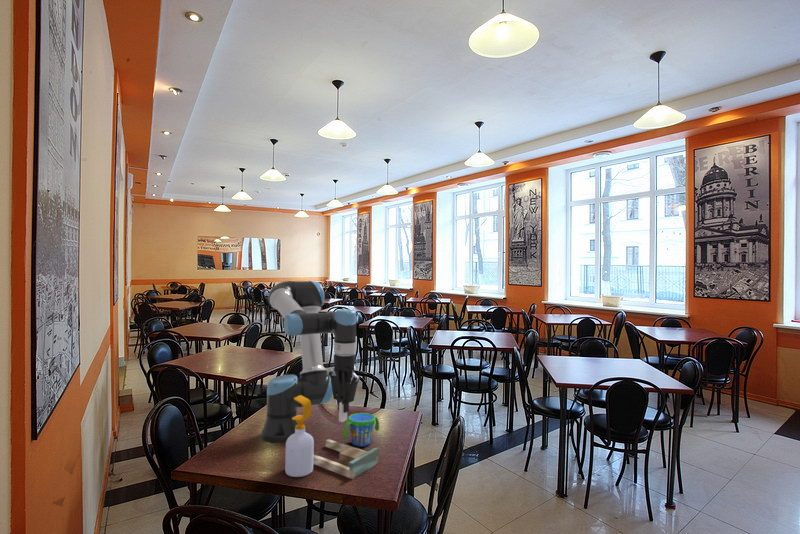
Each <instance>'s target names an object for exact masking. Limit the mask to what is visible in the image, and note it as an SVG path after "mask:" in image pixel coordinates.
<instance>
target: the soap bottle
mask: <svg viewBox="0 0 800 534" xmlns="http://www.w3.org/2000/svg"><path fill="white" fill-rule="evenodd" d="M294 400H295V401H297V402H299V403H300V404H302V406H303V407H302V414H297V416H295V417H293V418H292V420H296V422H297V423H298V425H296V426H295V433H294V434H292V435H291V436H290V437H289V438H288V439H287V441H286V442H285V459H284V461H285V463H284V465H285V466H284V467H285V468H284V470H285V474H286V475H287V476H288V477H292V478H300V477H305V476H308V475H310V474H312V472H313V471H314V464H313V455H314V452H315V451H314V449H315V443H314V442H315V440H314V437H313V436H312V435H311V434H310V433H308V432H306V424H304V423H305V421H306V420H308V419H309V418H311V416H312V405H311V401H310V400H309V399H307V398H306V397H304V396H302V395H299V396H297V397H295V398H294Z"/></svg>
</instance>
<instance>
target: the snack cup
mask: <svg viewBox="0 0 800 534" xmlns="http://www.w3.org/2000/svg"><path fill="white" fill-rule="evenodd" d="M346 421H347V422H346V423H345V424H344V427H343V432H342V436H343V438H344V440H348V428H349V432H350V439H351V443H352V445H353V446H356V447H366V446H368V445H371V443H372V439H373V433H374V430H375V431H377V432H378V431H379V430H380V423H379V419H378V417H377V416H375V415H374V414H372V413H367V412H358V413H357V412H356V413H352V414H350V415H349V416H347V420H346Z"/></svg>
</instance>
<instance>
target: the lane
mask: <svg viewBox="0 0 800 534" xmlns="http://www.w3.org/2000/svg"><path fill="white" fill-rule="evenodd" d="M324 447H325V448H328V449H330V450H333V451H336V452H339V453H340V452H342V451H344V450H346V449H348V448H350V447H352V448H356V449H359V450H362V451H365V452H366V453H365V454H363V455H361V456H359V457H358V458H356V459H354V460H353V461H351V462H349V467H348V466H345V465H342V464H339V462H337V461H333V460H331V459H328V458H326V457H323V456H321V455H318V454H314V455H313V465H315V466H318V467H320V468H323V469H325V470H327V471H331V472H334V473H335V474H337V475H341V476H343V477H346V478H348V479H351V480H354V479H355V478H357V477H358V476H360V475H362V474H363V473H365V472H366V471H368V470H369V469H371V468H373V467H374V466H376V465H378V464H379V461H380V460H379V457H380V456H379V455H380V454H379V453H380V449H379V447H374V448H371V449H369V450H368V451H367V450H363V449H360V448H358V447H354V446H351V445H349V444H346V443H343V442H342V443H341V442H339V441H336V440H332V439H330V438H328V439H325V446H324Z"/></svg>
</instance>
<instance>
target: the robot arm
mask: <svg viewBox="0 0 800 534" xmlns="http://www.w3.org/2000/svg"><path fill="white" fill-rule="evenodd" d="M267 297H268V303H269V305H270V306H271V307H272V308H273V309H275V310H277V311H278V313H279V314H280V316H282V318H283V330H284V333H285V335H287V336H295V337H296V336H300V347H301V348H300V349H301V361H302V362H301V363H302V371H300V372H299V377H298V376H297V375H296V374H292V373H291V374H283V375H278V376H276V377H273V378H272V379H270V380H269V381H268V383H267V388H266V417H265V422H264V424H263V428H262V430H261V439H262V440H263V441H265V442H268V443H275V444H278V443H286V441H287V439H288V438H289V437H290V436H291V435H292V434H294V433H295V426H296V425H298V423H297V422H296V420H292V418H293V417H295V416H297V415H298V414H297V411H298V410H297V409H298V408H303V406H302V404H300V403H299V402H297V401H295V400H294V398H295V397H297V396H299V395H302V396H304V397H306V398H307V399H309V400H310V401H311V406H316V405H317V406H319V405H321V404H322V405H323V404H327V403H329V402H330V401H331V400H332V398H333V399H334V400H336V402H337V410H338V422H339V423H345V422H346V421H348V413H349V410H350V408H349V407H350V403H352V402H354V400H355V397H356V393H357V388H358V384H359V381H360V379H361V376H360V375H357V374H356V373H355V372H356V371H355V365H356V355H355V354H356V351H357V350H356V347H357V346H356V345H357V340H356V339H357V321H358V320H357V312H356V311H355V309H347V308H346V309H345V308H342V309H341V308H340V309H336V310H335V311H330V310H329V311H326V312H320V311H321V310H322V307H323V306H324V304H325V297H326V296H325V291H324V287H323V286H322V284H321V283H320V282H319V281H315V280H314V281H313V280H307V281H304V280H284V281H281V282H278V283H277V284H275V285H274V286H273V287H272V288H271V289H270V291H269V293H268V295H267ZM321 334H334V340H333V341H334V342H333V343H334V344H333V345H334V346H333V353H334V354H333V366H334V367H333V369H332V370H330V371H328V369H327V368H326V367H324V362H323V361H324V360H323V359H324V358H323V351H322V350H323V349H322V341H321V340H322V339H321Z"/></svg>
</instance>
